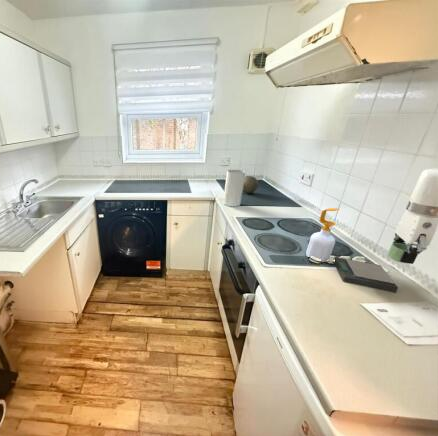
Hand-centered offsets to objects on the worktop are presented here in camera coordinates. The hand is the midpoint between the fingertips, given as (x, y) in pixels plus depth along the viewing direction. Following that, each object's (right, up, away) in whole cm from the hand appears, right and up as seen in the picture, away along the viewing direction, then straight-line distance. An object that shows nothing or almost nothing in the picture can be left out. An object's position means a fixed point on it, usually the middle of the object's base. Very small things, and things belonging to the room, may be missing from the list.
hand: (400, 256), depth 82 cm
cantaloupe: (-1, +42, +120) cm, 127 cm away
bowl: (0, -1, 0) cm, 1 cm away
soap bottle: (-8, -5, +29) cm, 30 cm away
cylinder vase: (-24, +24, +98) cm, 104 cm away
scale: (+1, -10, +16) cm, 19 cm away
